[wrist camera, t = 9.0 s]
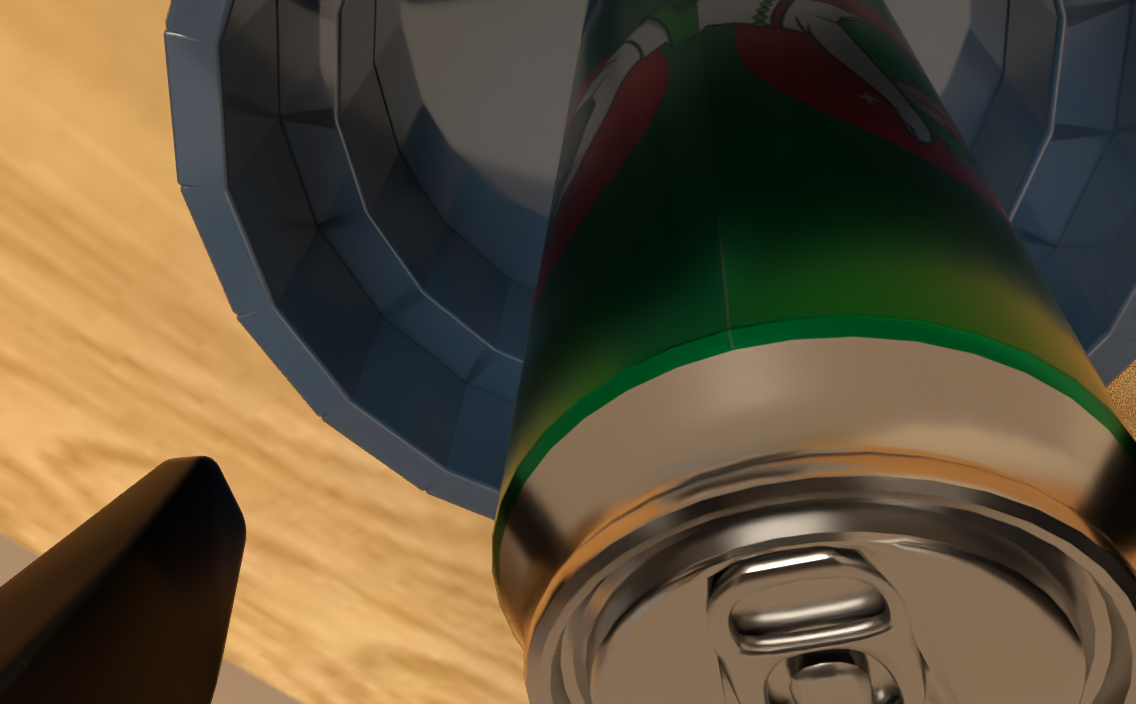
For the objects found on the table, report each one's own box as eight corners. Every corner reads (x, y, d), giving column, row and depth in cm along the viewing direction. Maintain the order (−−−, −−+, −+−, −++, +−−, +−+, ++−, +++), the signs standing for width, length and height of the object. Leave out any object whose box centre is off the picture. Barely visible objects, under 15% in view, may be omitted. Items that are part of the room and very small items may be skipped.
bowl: (1183, -559, 12) (1441, -640, 8) (1059, 342, 20) (1161, 529, 16) (155, -337, 14) (-42, -314, 10) (403, 401, 22) (346, 579, 18)
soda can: (631, 239, 19) (603, 912, 9) (533, -28, 16) (344, 527, 6) (912, 161, 17) (1227, 849, 8) (857, -144, 15) (1234, 334, 5)
